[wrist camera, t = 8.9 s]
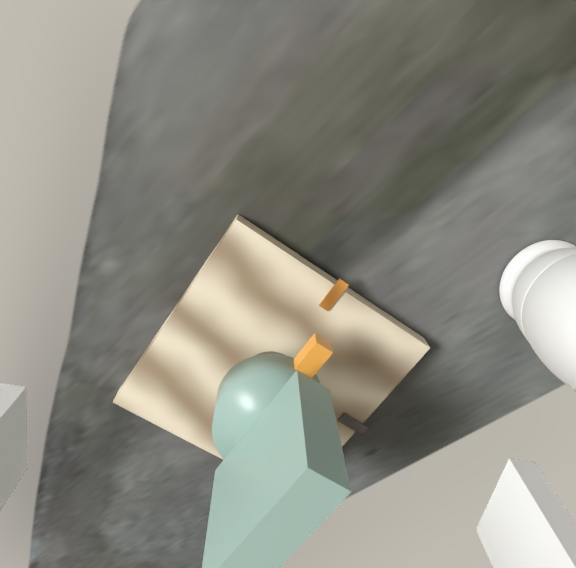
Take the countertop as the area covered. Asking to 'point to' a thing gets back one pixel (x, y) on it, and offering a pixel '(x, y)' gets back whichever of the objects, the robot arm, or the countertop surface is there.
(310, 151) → the countertop surface
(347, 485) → the mint bar with ball
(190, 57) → the countertop surface
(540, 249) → the jar
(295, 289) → the base
